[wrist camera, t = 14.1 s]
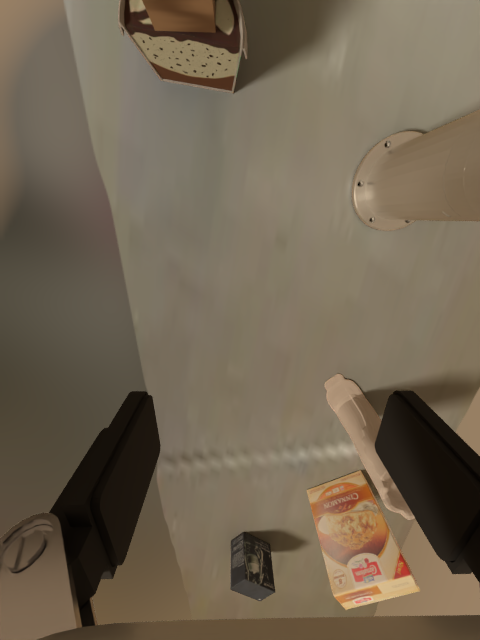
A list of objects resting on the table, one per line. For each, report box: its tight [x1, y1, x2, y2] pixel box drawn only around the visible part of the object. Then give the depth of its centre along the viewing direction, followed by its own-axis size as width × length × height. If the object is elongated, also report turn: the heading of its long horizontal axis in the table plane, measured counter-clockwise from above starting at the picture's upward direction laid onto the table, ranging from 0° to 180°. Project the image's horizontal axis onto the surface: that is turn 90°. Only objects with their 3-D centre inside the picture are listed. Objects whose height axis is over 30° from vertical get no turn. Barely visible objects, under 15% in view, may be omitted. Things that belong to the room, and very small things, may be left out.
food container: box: [118, 0, 248, 93], centre depth 26 cm, size 12×6×10 cm, turn 82°
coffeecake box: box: [307, 470, 420, 610], centre depth 54 cm, size 15×7×20 cm, turn 120°
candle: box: [324, 374, 415, 520], centre depth 42 cm, size 7×14×20 cm, turn 36°
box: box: [231, 532, 275, 601], centre depth 68 cm, size 11×7×10 cm, turn 50°
